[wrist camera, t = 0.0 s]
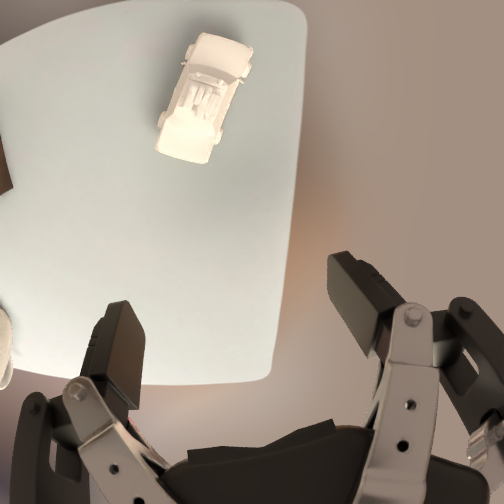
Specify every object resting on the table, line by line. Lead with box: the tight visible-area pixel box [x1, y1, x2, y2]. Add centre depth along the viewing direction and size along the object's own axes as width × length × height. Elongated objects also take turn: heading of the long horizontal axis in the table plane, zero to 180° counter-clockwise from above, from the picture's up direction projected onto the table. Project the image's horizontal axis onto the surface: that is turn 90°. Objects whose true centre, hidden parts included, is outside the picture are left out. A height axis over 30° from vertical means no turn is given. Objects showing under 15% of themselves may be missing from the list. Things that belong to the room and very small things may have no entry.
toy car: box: [155, 32, 253, 164], centre depth 19 cm, size 6×12×7 cm, turn 158°
